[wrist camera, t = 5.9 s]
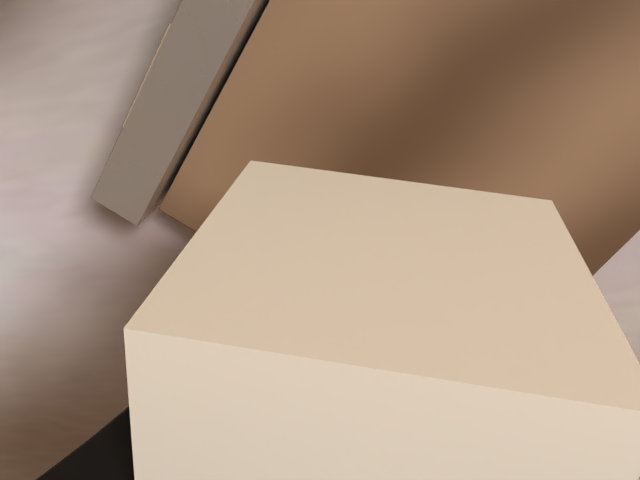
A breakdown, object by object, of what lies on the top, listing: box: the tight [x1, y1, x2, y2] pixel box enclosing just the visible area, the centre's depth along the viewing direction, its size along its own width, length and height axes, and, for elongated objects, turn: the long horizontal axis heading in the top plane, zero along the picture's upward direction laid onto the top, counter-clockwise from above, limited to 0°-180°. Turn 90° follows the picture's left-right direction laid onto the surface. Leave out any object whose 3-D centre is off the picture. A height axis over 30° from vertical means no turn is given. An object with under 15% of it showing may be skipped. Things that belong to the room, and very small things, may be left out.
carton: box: [123, 161, 640, 480], centre depth 10 cm, size 8×5×5 cm, turn 175°
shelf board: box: [159, 0, 640, 276], centre depth 16 cm, size 11×13×1 cm
